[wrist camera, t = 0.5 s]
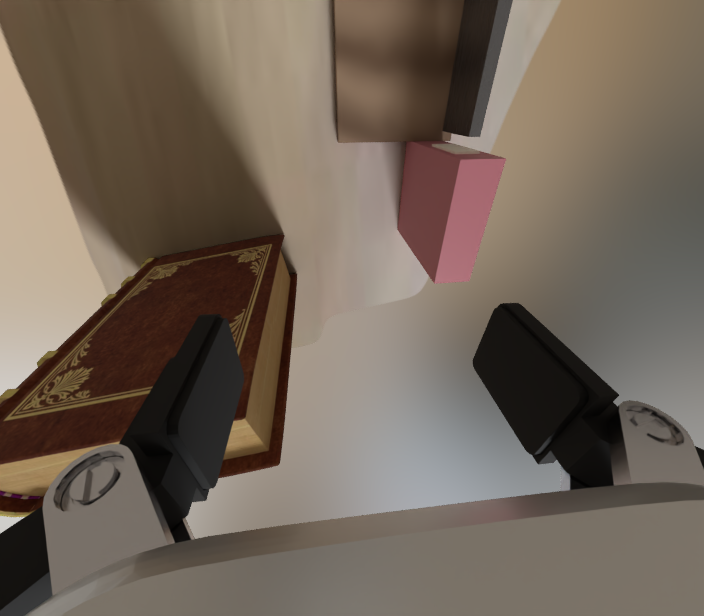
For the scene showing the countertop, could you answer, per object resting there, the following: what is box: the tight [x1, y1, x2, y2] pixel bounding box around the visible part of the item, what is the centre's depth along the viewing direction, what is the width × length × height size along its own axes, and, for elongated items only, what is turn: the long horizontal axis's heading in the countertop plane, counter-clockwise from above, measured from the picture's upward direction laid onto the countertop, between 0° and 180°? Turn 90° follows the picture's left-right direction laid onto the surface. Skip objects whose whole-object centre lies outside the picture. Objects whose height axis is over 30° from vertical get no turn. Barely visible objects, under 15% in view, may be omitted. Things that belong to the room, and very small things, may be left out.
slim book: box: [398, 141, 506, 283], centre depth 32 cm, size 12×4×16 cm, turn 0°
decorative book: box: [0, 234, 297, 517], centre depth 31 cm, size 22×8×30 cm, turn 99°
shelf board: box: [333, 0, 464, 143], centre depth 29 cm, size 16×14×2 cm
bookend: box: [443, 0, 513, 137], centre depth 26 cm, size 14×1×7 cm, turn 0°
